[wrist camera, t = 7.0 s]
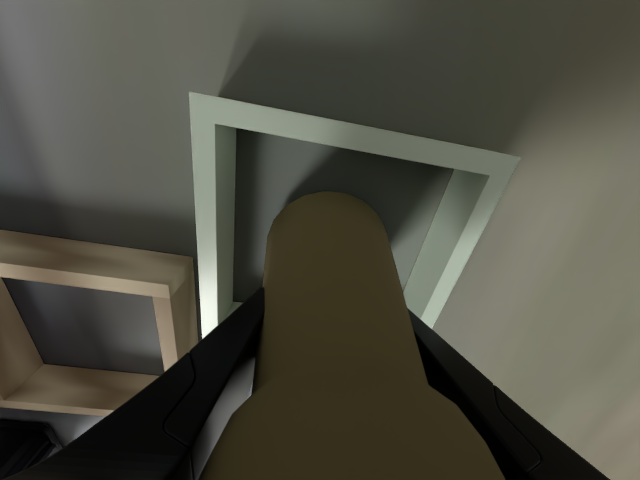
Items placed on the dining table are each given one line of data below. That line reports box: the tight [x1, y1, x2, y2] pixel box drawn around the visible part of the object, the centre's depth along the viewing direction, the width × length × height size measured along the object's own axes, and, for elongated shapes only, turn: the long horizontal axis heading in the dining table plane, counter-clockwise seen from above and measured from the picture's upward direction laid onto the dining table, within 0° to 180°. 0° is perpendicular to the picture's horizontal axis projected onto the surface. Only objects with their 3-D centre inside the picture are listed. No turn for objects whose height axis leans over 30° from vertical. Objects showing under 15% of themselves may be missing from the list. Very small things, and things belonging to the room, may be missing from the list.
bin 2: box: [189, 92, 521, 339], centre depth 12 cm, size 12×12×2 cm
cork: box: [198, 191, 505, 480], centre depth 8 cm, size 6×6×11 cm
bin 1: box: [0, 230, 198, 416], centre depth 15 cm, size 12×12×2 cm
